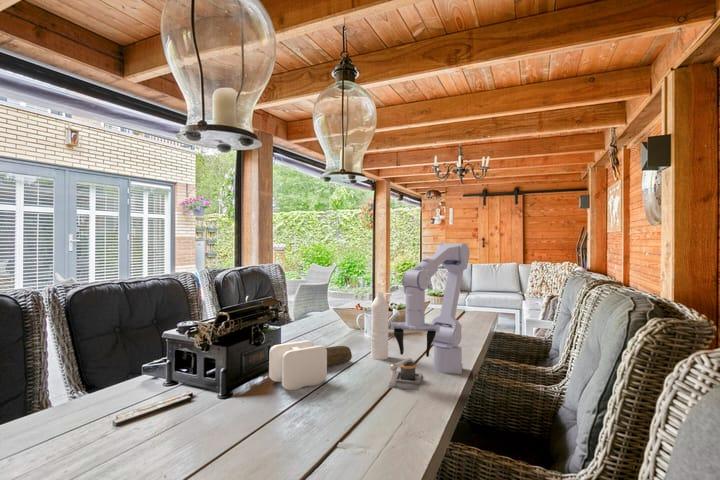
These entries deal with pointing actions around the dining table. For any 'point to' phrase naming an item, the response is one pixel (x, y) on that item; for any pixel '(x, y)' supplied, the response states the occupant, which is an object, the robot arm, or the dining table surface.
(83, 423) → the dining table surface
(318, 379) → the cable organizer
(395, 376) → the socket
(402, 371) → the plug
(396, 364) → the brushed metal lever
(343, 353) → the brown cylinder
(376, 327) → the water bottle
